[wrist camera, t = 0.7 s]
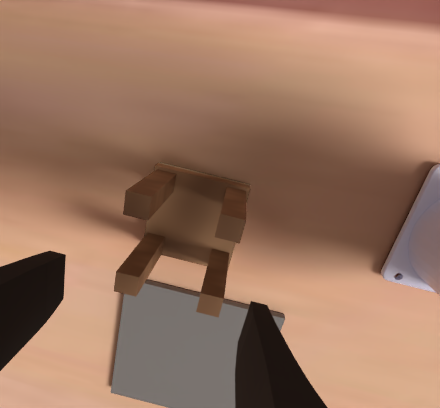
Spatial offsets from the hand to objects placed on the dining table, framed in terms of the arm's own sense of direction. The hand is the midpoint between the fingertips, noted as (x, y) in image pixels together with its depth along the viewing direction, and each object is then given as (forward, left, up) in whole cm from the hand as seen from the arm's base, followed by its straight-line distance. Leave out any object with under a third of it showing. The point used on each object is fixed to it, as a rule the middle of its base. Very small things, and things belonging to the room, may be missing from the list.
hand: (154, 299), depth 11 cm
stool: (0, 0, -9) cm, 9 cm away
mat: (-2, +12, -9) cm, 15 cm away
